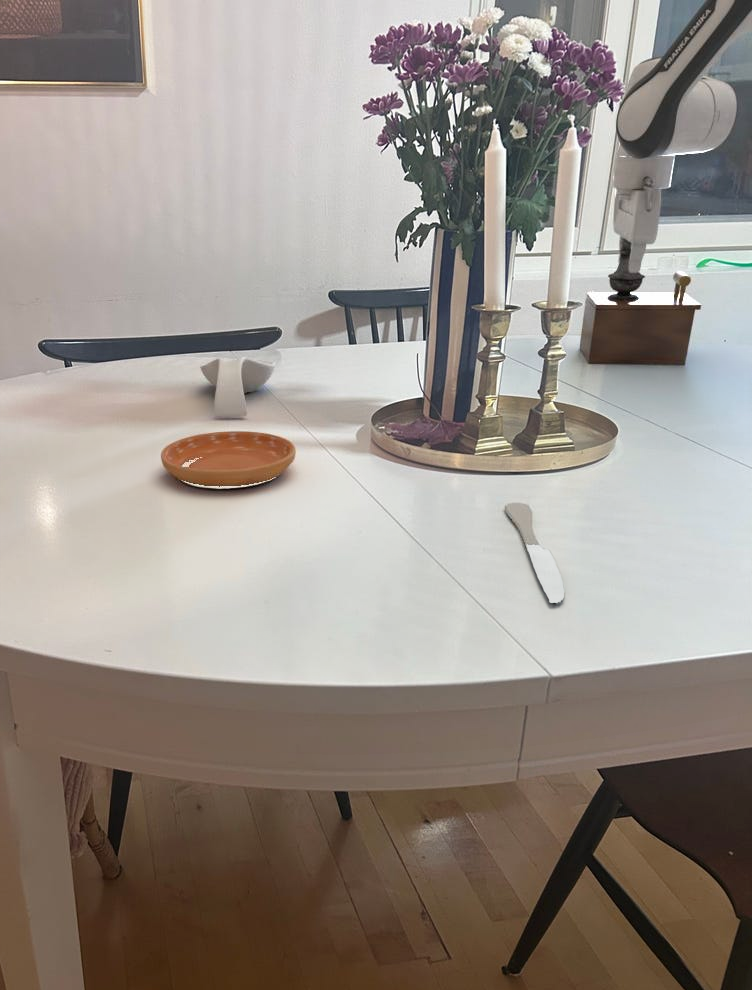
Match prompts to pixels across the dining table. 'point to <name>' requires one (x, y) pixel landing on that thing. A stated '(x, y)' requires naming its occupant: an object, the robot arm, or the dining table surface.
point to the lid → (650, 298)
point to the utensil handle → (522, 521)
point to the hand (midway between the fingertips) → (628, 268)
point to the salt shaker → (624, 277)
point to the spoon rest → (235, 382)
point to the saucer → (228, 458)
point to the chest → (635, 336)
